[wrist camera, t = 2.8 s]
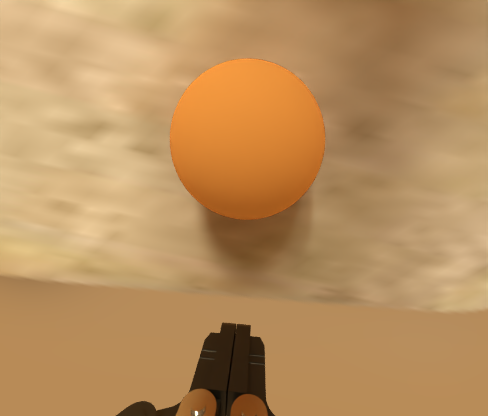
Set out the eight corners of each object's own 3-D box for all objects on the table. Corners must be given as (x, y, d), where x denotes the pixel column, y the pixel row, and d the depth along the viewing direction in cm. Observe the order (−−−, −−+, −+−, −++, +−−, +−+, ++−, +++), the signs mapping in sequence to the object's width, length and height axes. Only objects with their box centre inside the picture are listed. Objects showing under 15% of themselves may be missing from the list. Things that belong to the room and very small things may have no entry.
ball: (255, 58, 11) (251, -42, 5) (330, 152, 12) (396, 151, 6) (172, 143, 13) (96, 134, 7) (245, 223, 13) (234, 278, 7)
